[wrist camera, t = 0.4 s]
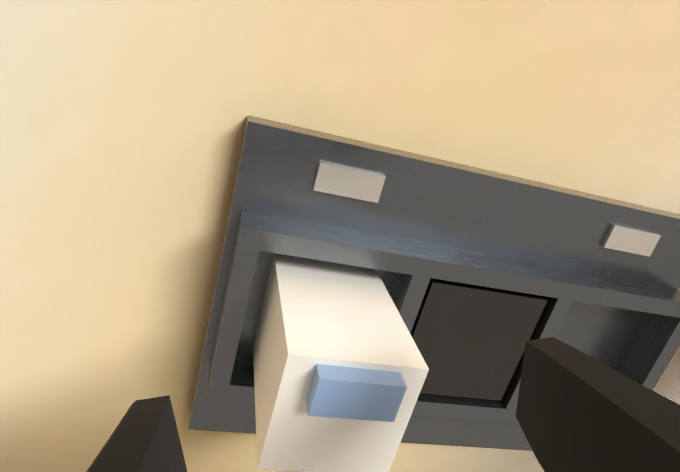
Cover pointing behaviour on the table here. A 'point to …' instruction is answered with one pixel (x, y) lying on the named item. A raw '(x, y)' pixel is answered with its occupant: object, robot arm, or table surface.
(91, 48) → the table surface
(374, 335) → the cream white rectangular block
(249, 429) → the grey compartment tray
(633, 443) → the robot arm
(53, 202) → the table surface
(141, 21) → the table surface
